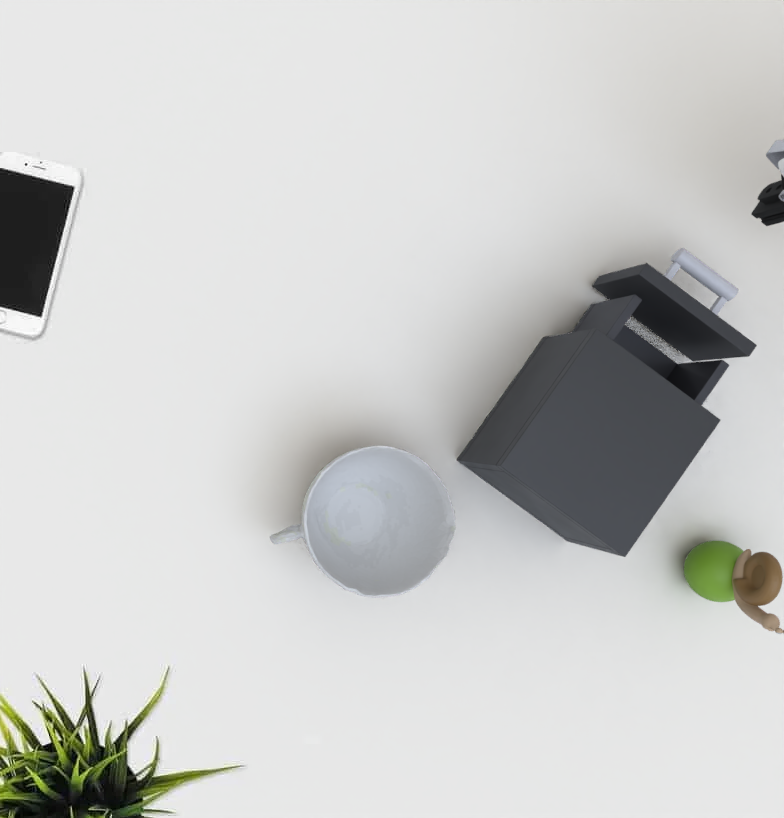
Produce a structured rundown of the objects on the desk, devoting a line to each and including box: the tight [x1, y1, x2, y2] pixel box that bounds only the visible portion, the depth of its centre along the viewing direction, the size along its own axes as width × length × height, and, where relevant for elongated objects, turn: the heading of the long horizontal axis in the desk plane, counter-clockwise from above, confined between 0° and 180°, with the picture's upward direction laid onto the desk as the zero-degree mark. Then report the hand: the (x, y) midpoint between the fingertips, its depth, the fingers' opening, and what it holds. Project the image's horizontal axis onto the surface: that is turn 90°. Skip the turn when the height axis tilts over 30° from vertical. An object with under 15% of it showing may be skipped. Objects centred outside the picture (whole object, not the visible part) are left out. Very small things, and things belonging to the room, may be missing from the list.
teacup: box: [269, 445, 457, 599], centre depth 86 cm, size 15×12×8 cm
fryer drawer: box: [571, 247, 757, 406], centre depth 86 cm, size 17×12×8 cm
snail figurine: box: [683, 539, 784, 635], centre depth 86 cm, size 5×6×12 cm
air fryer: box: [456, 328, 721, 558], centre depth 86 cm, size 14×13×10 cm
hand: (768, 205), depth 83 cm, fingers closed
